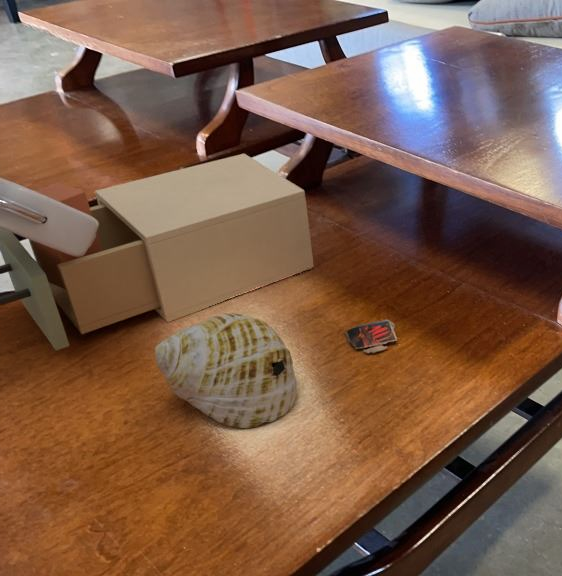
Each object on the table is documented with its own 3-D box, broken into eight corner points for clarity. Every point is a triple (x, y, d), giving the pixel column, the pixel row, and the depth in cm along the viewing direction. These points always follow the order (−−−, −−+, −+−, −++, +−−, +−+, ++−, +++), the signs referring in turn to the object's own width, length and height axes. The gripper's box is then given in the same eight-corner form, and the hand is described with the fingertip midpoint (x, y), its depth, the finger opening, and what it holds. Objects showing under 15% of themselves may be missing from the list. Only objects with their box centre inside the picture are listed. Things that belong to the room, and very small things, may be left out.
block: (71, 293, 72) (43, 207, 67) (46, 281, 73) (17, 196, 69) (109, 275, 75) (85, 191, 70) (83, 264, 76) (58, 181, 72)
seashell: (321, 403, 64) (250, 332, 58) (224, 468, 64) (140, 404, 57) (296, 335, 72) (231, 265, 65) (208, 392, 71) (133, 328, 64)
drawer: (2, 370, 67) (-28, 295, 63) (-33, 311, 74) (-62, 241, 70) (218, 293, 79) (204, 225, 74) (169, 249, 86) (154, 185, 82)
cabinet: (167, 322, 75) (145, 237, 70) (116, 270, 83) (94, 190, 78) (314, 268, 85) (304, 190, 80) (256, 226, 93) (244, 153, 88)
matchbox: (340, 334, 74) (340, 330, 74) (387, 318, 77) (387, 314, 77) (362, 358, 71) (361, 354, 71) (410, 341, 74) (410, 336, 73)
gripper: (18, 162, 56) (158, 229, 68) (-126, 111, 64) (22, 179, 77) (-23, 239, 55) (127, 293, 67) (-164, 177, 63) (-8, 235, 76)
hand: (70, 232), depth 72 cm, fingers closed on block, 4 cm apart
